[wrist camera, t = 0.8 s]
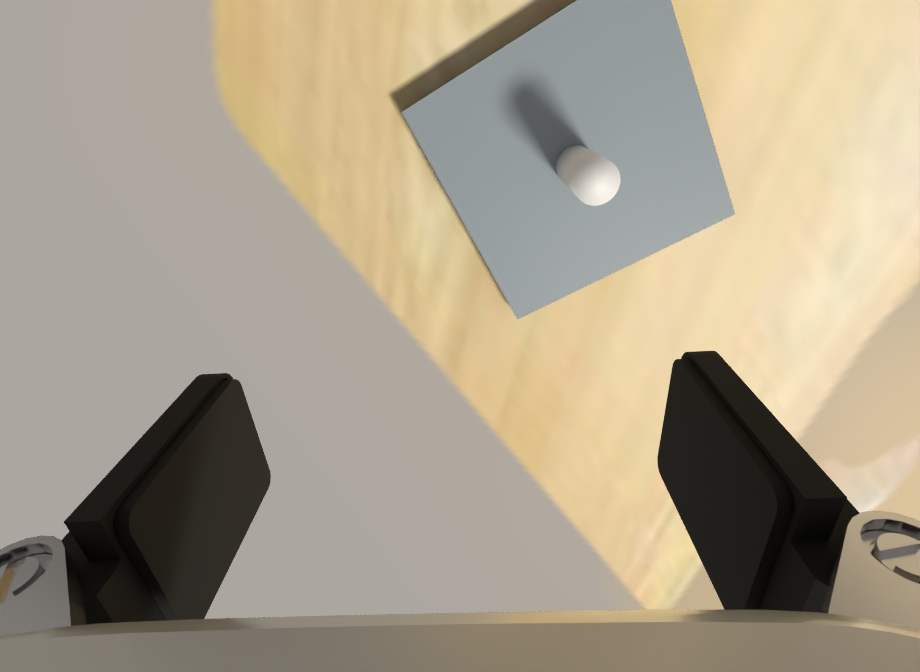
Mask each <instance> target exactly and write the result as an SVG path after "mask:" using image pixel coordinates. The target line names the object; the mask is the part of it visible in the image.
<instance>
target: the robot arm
mask: <svg viewBox="0 0 920 672" xmlns="http://www.w3.org/2000/svg"><path fill="white" fill-rule="evenodd" d="M658 468H659V472H660V475H661V477H662V479H663V481H664V483H665V485H666V488H667V490H668V492H669V494H670V496H671V498H672V500H673V502H674V504H675V506H676V508H677V511H678V513H679V515H680V517H681V519H682V521H683V523H684V525H685V527H686V529H687V532H688V534H689V536H690V538H691V540H692V542H693V544H694V546H695V548H696V550H697V553H698V555H699V557H700V559H701V561H702V563H703V565H704V567H705V569H706V571H707V573H708V575H709V578H710V580H711V582H712V584H713V586H714V588H715V590H716V592H717V594H718V597H719V599H720V601H721V603H722V605H723V607H724V609H725V610H607V611H606V610H604V611H544V612H543V611H542V612H541V611H538V612H486V613H485V612H483V613H482V612H481V613H432V614H386V615H339V616H304V617H303V616H300V617H267V618H266V617H262V618H225V619H204V618H205V616H206V614H207V611H208V609H209V607H210V606H211V604H212V601H213V599H214V597H215V595H216V593H217V591H218V589H219V587H220V585H221V583H222V581H223V579H224V577H225V575H226V573H227V571H228V569H229V567H230V565H231V563H232V561H233V559H234V557H235V555H236V553H237V550H238V549H239V547H240V545H241V542H242V541H243V539H244V537H245V535H246V533H247V530H248V528H249V526H250V524H251V522H252V520H253V518H254V516H255V514H256V512H257V510H258V508H259V506H260V504H261V502H262V500H263V498H264V496H265V494H266V492H267V490H268V488H269V485H270V470H269V467H268V464H267V461H266V458H265V455H264V452H263V449H262V446H261V443H260V440H259V437H258V434H257V431H256V428H255V425H254V422H253V419H252V416H251V413H250V410H249V407H248V404H247V401H246V398H245V395H244V392H243V389H242V386H241V384H240V382H239V381H238V380H236V379H234V380H233V378H232V377H231V376H230V374H227V373H223V374H202V375H199V376H198V377H196V378H195V380H194V381H193V382H192V383H191V384H190V385H189V386H188V387H187V388H186V389H185V390H184V391H183V393H182V394H181V395H180V396H179V397H178V398H177V399H176V400H175V401H174V402H173V404H171V406H170V407H169V408H168V409H167V410H166V411H165V412H164V413H163V415H161V416H160V418H159V419H158V420H157V421H156V422H155V423H154V424H153V425H152V426H151V427H150V428H149V430H148V431H147V432H146V433H145V434H144V435H143V436H142V437H141V439H139V440H138V442H137V443H136V444H135V445H134V446H133V447H132V448H131V449H130V450H129V451H128V453H127V454H126V455H125V456H124V457H123V458H122V459H121V460H120V461H119V462H118V464H117V465H116V466H115V467H114V468H113V469H112V470H111V471H110V472H109V473H108V475H107V476H106V477H105V478H104V479H103V480H102V481H101V482H100V483H99V484H98V485H97V486H96V488H95V489H94V490H93V491H92V492H91V493H90V494H89V495H88V496H87V497H86V498H85V499H84V501H83V502H82V503H81V504H80V505H79V506H78V507H77V509H75V511H73V513H72V514H71V515H70V516H69V517H68V518H67V519H66V520H65V521H64V523H65V524H66V526H67V528H68V529H69V531H70V532H69V533H68V534H67V535H66V536H65V537H64V538H63V540H62V541H61V540H60V539H58V538H56V537H54V536H37V537H32V538H27V539H24V540H21V541H18V542H16V543H13V544H10V545H8V546H7V547H4V548H2V549H1V550H0V672H920V521H918V520H916V519H913V518H910V517H907V516H903V515H900V514H897V513H892V512H884V511H868V512H862V513H859V512H858V511H857V510H856V509H855V507H854V506H853V505H852V504H851V503H850V502H849V501H848V500H847V497H846V496H845V495H844V494H843V492H842V491H841V490H840V489H839V488H838V487H837V486H836V485H835V483H834V482H833V481H832V480H831V479H830V478H829V477H828V476H827V475H826V473H825V472H824V471H823V470H822V469H821V468H820V467H819V466H818V464H817V463H816V462H815V461H814V460H813V459H812V458H811V457H810V456H809V455H808V453H807V452H806V451H805V450H804V449H803V448H802V447H801V446H800V444H799V443H798V442H797V441H796V440H795V439H794V438H793V437H792V435H791V434H790V433H789V432H788V431H787V430H786V429H785V428H784V426H783V425H782V424H781V423H780V422H779V421H778V420H777V419H776V418H775V416H774V415H773V414H772V413H771V412H770V411H769V410H768V409H767V408H766V406H765V405H764V404H763V403H762V402H761V401H760V400H759V399H758V397H757V396H756V395H755V394H754V393H753V392H752V391H751V390H750V389H749V387H748V386H747V385H746V384H745V383H744V382H743V381H742V380H741V378H740V377H739V376H738V375H737V374H736V373H735V372H734V371H733V370H732V368H731V367H730V366H729V365H728V364H727V363H726V362H725V361H724V359H723V358H722V357H721V356H720V355H719V354H718V353H717V352H716V351H699V352H686V353H684V354H683V356H682V358H681V359H676V360H675V361H674V363H673V367H672V373H671V379H670V385H669V391H668V397H667V404H666V410H665V416H664V422H663V428H662V434H661V440H660V446H659V452H658Z"/></svg>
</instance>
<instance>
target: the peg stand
mask: <svg viewBox="0 0 920 672" xmlns="http://www.w3.org/2000/svg"><path fill="white" fill-rule="evenodd" d="M401 113H402V114H403V116H404V118H405V120H406V122H407V123H408V125H409V127H410V129H411V130H412V132H413V134H414V136H415V138H416V139H417V141H418V143H419V145H420V147H421V148H422V150H423V152H424V154H425V155H426V157H427V159H428V161H429V163H430V164H431V166H432V168H433V170H434V171H435V173H436V175H437V177H438V179H439V180H440V182H441V184H442V186H443V188H444V189H445V191H446V193H447V195H448V196H449V198H450V200H451V202H452V204H453V205H454V207H455V209H456V211H457V213H458V214H459V216H460V218H461V220H462V221H463V223H464V225H465V227H466V229H467V230H468V232H469V234H470V236H471V237H472V239H473V241H474V243H475V245H476V246H477V248H478V250H479V252H480V254H481V255H482V257H483V259H484V261H485V262H486V264H487V266H488V268H489V270H490V271H491V273H492V275H493V277H494V279H495V280H496V282H497V284H498V286H499V287H500V289H501V291H502V293H503V295H504V296H505V298H506V300H507V302H508V303H509V305H510V307H511V309H512V311H513V312H514V314H515V316H516V318H517V319H519V318H521V317H524V316H526V315H528V314H530V313H532V312H534V311H536V310H538V309H540V308H542V307H544V306H546V305H548V304H550V303H552V302H555V301H557V300H559V299H561V298H563V297H565V296H567V295H569V294H571V293H573V292H575V291H577V290H579V289H581V288H583V287H586V286H588V285H590V284H592V283H594V282H596V281H598V280H600V279H602V278H604V277H606V276H608V275H610V274H612V273H614V272H617V271H619V270H621V269H623V268H625V267H627V266H629V265H631V264H633V263H635V262H637V261H639V260H641V259H643V258H645V257H648V256H650V255H652V254H654V253H656V252H658V251H660V250H662V249H664V248H666V247H668V246H670V245H672V244H674V243H676V242H679V241H681V240H683V239H685V238H687V237H689V236H691V235H693V234H695V233H697V232H699V231H701V230H703V229H705V228H707V227H710V226H712V225H714V224H716V223H718V222H720V221H722V220H724V219H726V218H728V217H730V216H732V215H734V214H735V212H734V209H733V206H732V202H731V199H730V196H729V192H728V189H727V186H726V182H725V179H724V176H723V173H722V169H721V166H720V163H719V159H718V156H717V153H716V149H715V146H714V143H713V139H712V136H711V133H710V129H709V126H708V123H707V119H706V116H705V113H704V109H703V106H702V103H701V99H700V96H699V93H698V89H697V86H696V83H695V79H694V76H693V73H692V69H691V66H690V63H689V59H688V56H687V53H686V49H685V46H684V43H683V39H682V36H681V33H680V29H679V26H678V23H677V19H676V16H675V13H674V10H673V6H672V3H671V0H576V1H575V2H573V3H572V4H570V5H569V6H567V7H565V8H564V9H562V10H561V11H559V12H558V13H556V14H554V15H553V16H551V17H550V18H548V19H547V20H545V21H543V22H542V23H540V24H539V25H537V26H536V27H534V28H532V29H531V30H529V31H528V32H526V33H525V34H523V35H522V36H520V37H518V38H517V39H515V40H514V41H512V42H511V43H509V44H507V45H506V46H504V47H503V48H501V49H500V50H498V51H496V52H495V53H493V54H492V55H490V56H489V57H487V58H486V59H484V60H482V61H481V62H479V63H478V64H476V65H475V66H473V67H471V68H470V69H468V70H467V71H465V72H464V73H462V74H460V75H459V76H457V77H456V78H454V79H453V80H451V81H449V82H448V83H446V84H445V85H443V86H442V87H440V88H439V89H437V90H435V91H434V92H432V93H431V94H429V95H428V96H426V97H424V98H423V99H421V100H420V101H418V102H417V103H415V104H413V105H412V106H410V107H409V108H407V109H406V110H404V111H403V112H401Z"/></svg>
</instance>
